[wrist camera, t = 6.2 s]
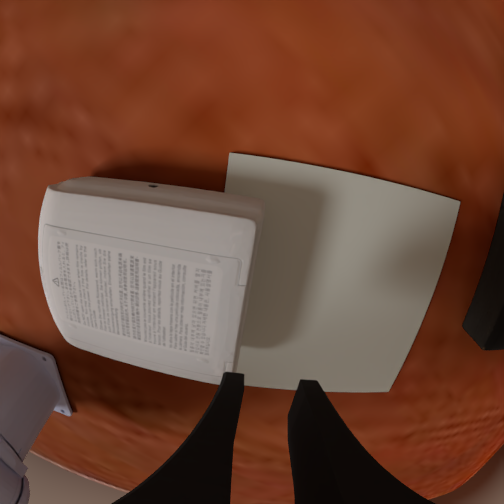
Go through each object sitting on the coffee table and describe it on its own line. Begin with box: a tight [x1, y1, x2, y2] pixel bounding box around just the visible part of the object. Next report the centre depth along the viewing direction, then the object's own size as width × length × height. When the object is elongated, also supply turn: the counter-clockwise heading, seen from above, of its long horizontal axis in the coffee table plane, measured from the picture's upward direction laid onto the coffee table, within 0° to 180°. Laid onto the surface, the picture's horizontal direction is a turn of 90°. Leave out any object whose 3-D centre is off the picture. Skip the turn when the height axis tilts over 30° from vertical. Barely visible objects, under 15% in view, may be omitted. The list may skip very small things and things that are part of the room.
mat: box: [224, 153, 460, 392], centre depth 18 cm, size 14×15×1 cm
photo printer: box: [38, 177, 266, 385], centre depth 16 cm, size 10×4×12 cm
